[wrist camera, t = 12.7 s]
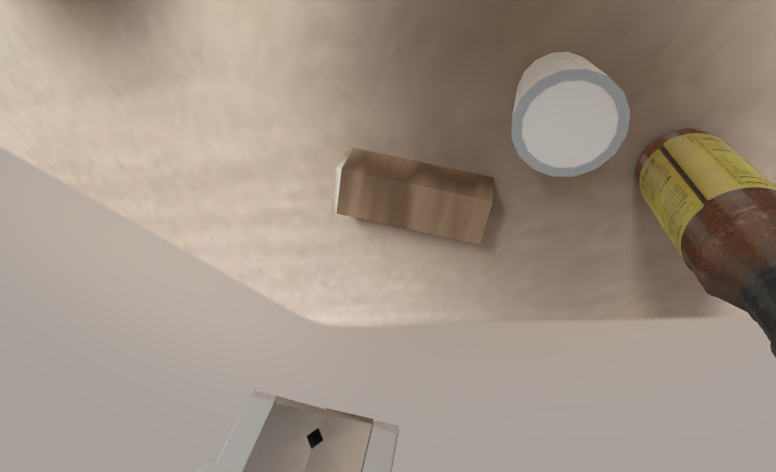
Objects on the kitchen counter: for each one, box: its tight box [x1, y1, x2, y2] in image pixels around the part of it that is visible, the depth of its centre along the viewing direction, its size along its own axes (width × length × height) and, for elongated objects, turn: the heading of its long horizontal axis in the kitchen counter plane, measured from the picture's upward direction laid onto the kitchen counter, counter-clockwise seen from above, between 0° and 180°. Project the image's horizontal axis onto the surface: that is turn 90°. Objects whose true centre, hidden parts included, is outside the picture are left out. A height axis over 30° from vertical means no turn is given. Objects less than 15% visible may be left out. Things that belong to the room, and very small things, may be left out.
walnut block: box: [332, 147, 493, 245], centre depth 40 cm, size 4×4×12 cm
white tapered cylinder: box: [511, 52, 631, 177], centre depth 33 cm, size 7×7×7 cm
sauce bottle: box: [636, 129, 776, 357], centre depth 29 cm, size 6×6×20 cm
